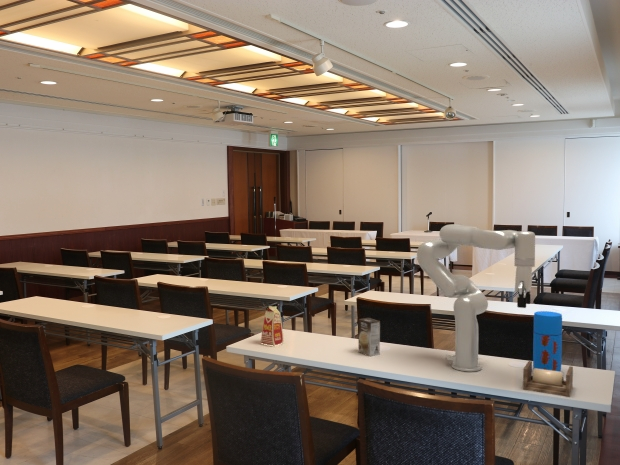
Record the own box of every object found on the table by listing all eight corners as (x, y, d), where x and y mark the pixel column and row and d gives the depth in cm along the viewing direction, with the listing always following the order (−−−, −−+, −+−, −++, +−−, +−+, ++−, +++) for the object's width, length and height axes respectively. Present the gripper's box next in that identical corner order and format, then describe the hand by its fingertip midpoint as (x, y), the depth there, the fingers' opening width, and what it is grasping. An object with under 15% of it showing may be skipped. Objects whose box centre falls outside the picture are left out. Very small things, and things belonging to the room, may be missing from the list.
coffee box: (357, 352, 264) (357, 319, 263) (367, 350, 267) (367, 317, 267) (370, 356, 256) (370, 322, 255) (380, 354, 260) (380, 320, 259)
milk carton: (274, 347, 274) (273, 307, 273) (259, 344, 279) (259, 305, 278) (285, 343, 282) (284, 304, 281) (270, 340, 287) (270, 302, 286)
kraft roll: (531, 385, 212) (531, 370, 211) (534, 380, 217) (534, 366, 217) (562, 390, 206) (562, 375, 206) (564, 385, 212) (564, 370, 211)
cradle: (523, 389, 211) (523, 368, 210) (528, 380, 221) (528, 360, 220) (569, 396, 202) (569, 375, 202) (572, 387, 213) (572, 366, 212)
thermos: (537, 367, 238) (538, 310, 237) (564, 372, 231) (565, 313, 230) (529, 373, 230) (530, 314, 228) (556, 378, 223) (557, 317, 221)
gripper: (518, 260, 228) (518, 301, 229) (510, 264, 213) (509, 308, 214) (538, 261, 224) (537, 302, 225) (531, 265, 209) (530, 310, 210)
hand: (523, 305), depth 219 cm, fingers open, 9 cm apart
